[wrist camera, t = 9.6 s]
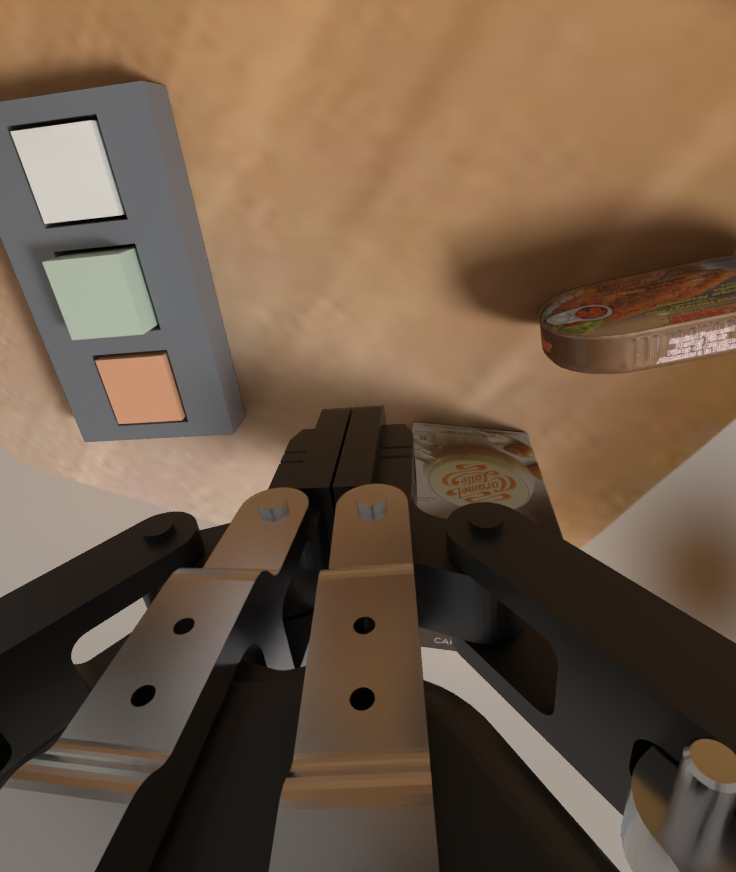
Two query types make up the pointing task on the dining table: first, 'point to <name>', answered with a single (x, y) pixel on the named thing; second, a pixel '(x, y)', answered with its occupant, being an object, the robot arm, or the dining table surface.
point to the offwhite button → (69, 171)
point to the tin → (644, 319)
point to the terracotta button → (141, 387)
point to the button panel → (157, 248)
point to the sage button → (102, 293)
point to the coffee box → (477, 480)
